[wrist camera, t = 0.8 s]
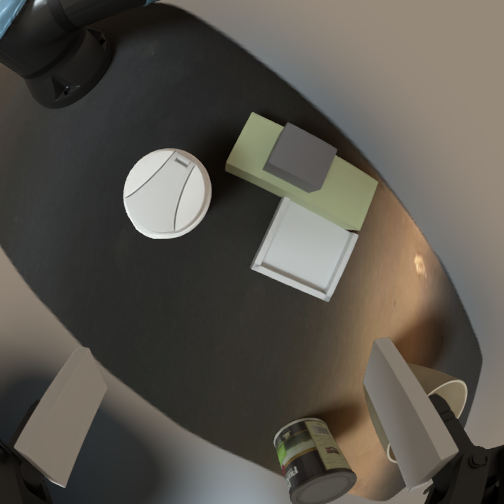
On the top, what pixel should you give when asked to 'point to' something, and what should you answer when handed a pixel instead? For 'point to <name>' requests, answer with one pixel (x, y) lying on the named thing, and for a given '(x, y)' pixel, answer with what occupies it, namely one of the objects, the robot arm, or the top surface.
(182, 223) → the paper cup
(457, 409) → the plant pot
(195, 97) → the top surface
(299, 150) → the green block with cube
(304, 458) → the coffee can
